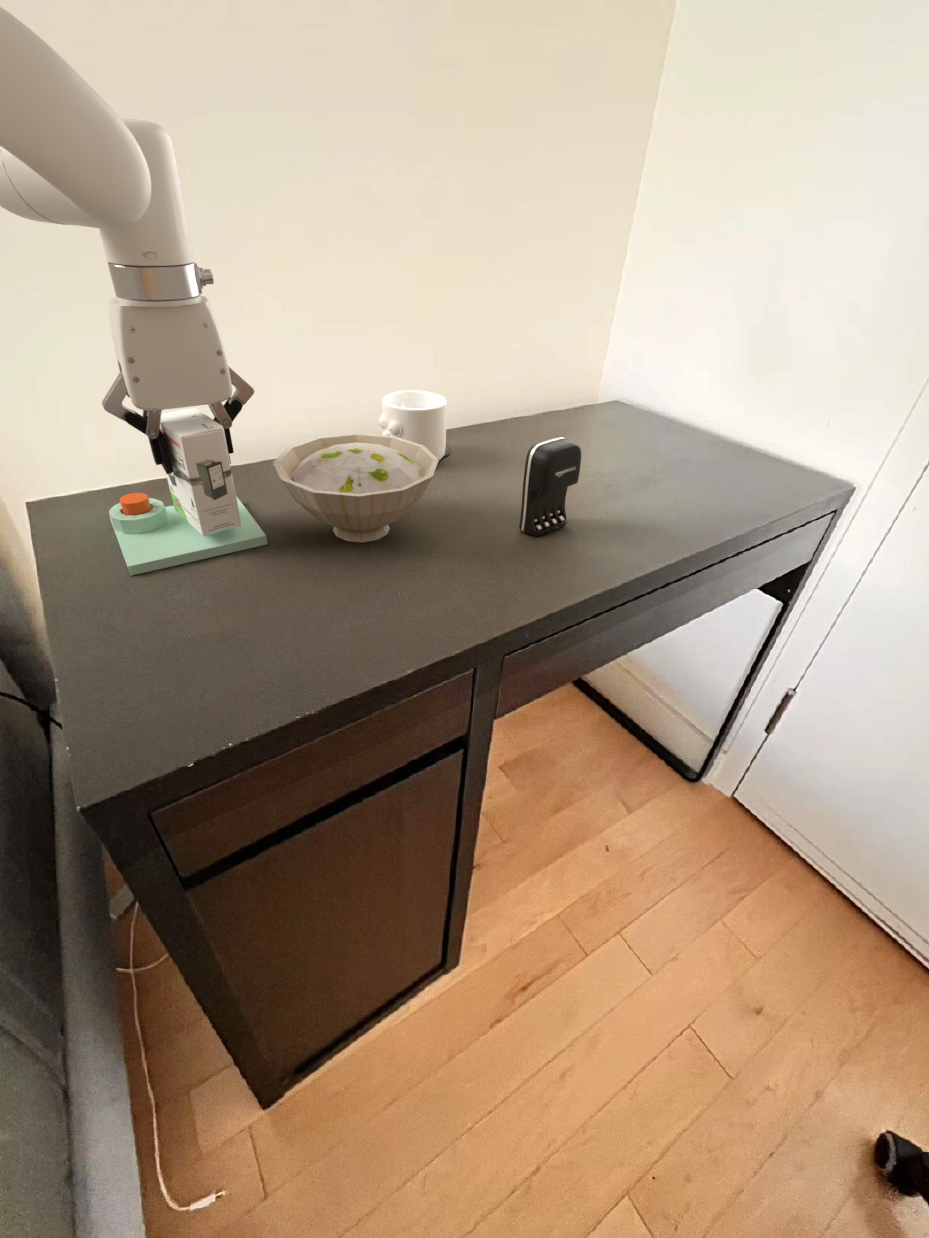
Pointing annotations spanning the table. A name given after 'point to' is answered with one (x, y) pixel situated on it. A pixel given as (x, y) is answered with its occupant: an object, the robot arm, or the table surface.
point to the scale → (176, 537)
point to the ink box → (200, 471)
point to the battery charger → (548, 484)
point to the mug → (416, 419)
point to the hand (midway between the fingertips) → (196, 463)
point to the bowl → (357, 480)
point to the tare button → (135, 504)
